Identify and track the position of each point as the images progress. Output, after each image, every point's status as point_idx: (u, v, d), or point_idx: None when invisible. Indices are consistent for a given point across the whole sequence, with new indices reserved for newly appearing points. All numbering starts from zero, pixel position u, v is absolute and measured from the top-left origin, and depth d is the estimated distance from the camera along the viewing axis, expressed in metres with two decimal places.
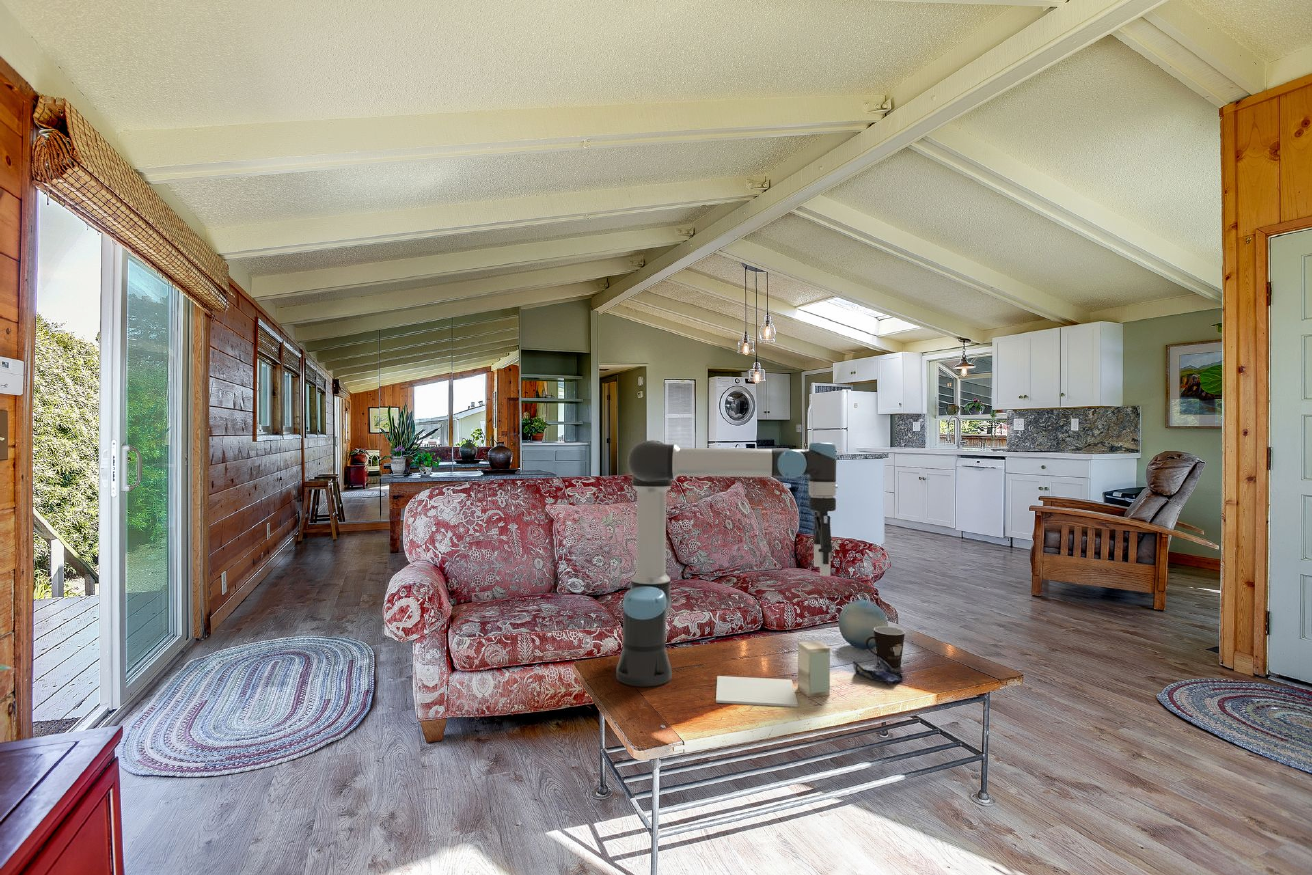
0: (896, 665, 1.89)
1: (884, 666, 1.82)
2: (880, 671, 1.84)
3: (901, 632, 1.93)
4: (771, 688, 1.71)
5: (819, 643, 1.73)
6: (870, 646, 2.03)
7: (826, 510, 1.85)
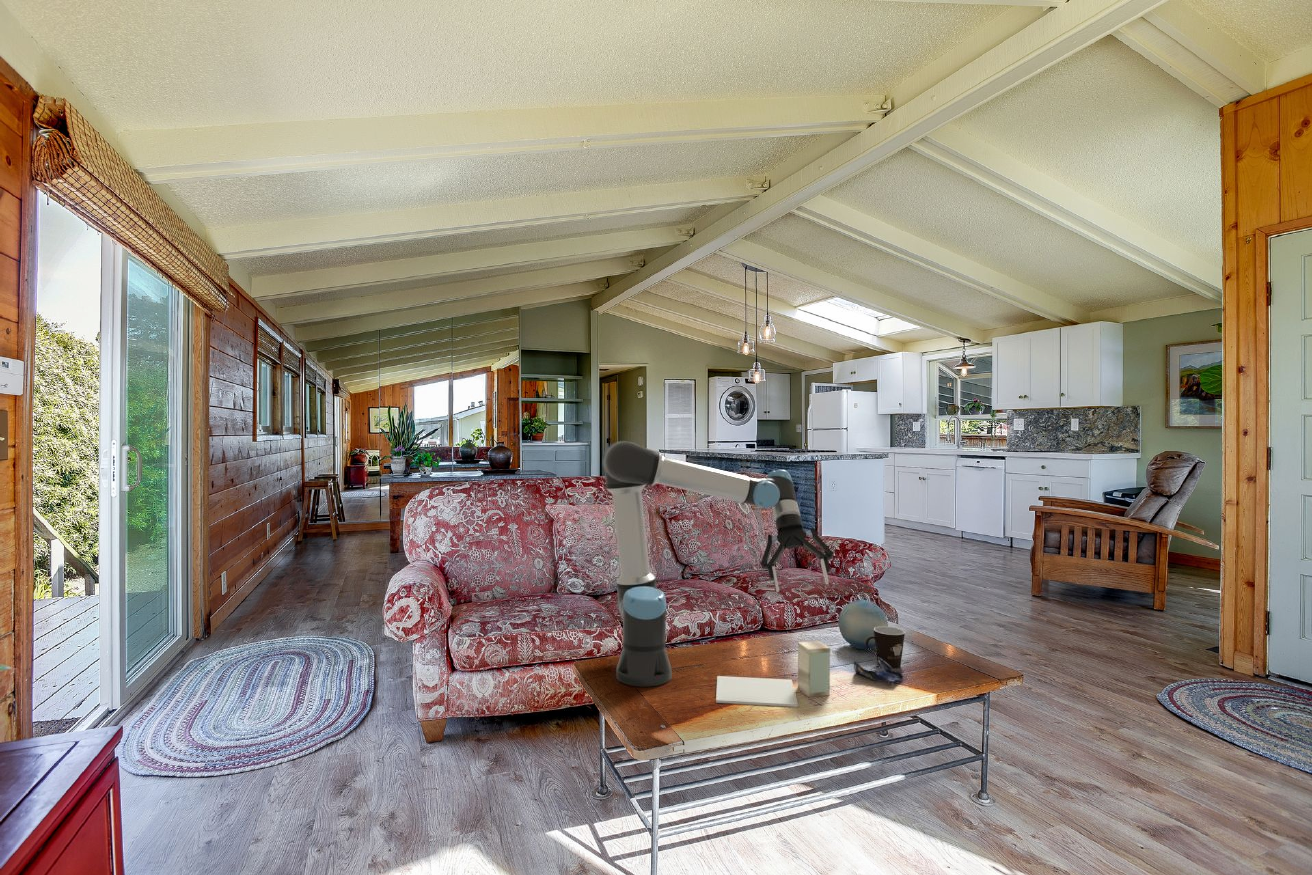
0: (896, 665, 1.89)
1: (884, 666, 1.82)
2: (880, 671, 1.84)
3: (901, 632, 1.93)
4: (771, 688, 1.71)
5: (819, 643, 1.73)
6: (870, 646, 2.03)
7: None
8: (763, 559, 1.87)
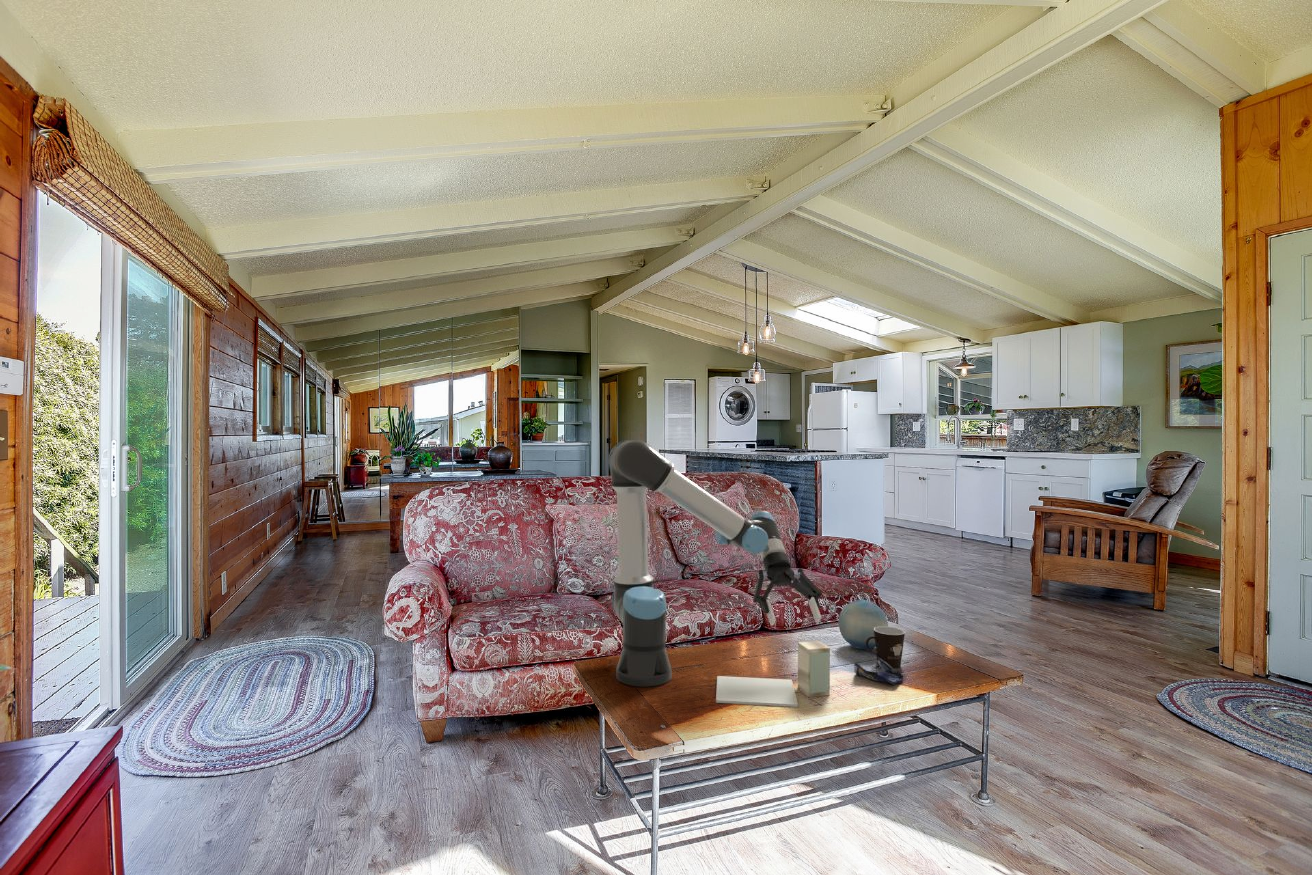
0: (896, 665, 1.89)
1: (884, 667, 1.81)
2: (880, 672, 1.83)
3: (901, 632, 1.93)
4: (771, 688, 1.71)
5: (819, 643, 1.73)
6: (870, 646, 2.03)
7: None
8: (757, 592, 1.85)
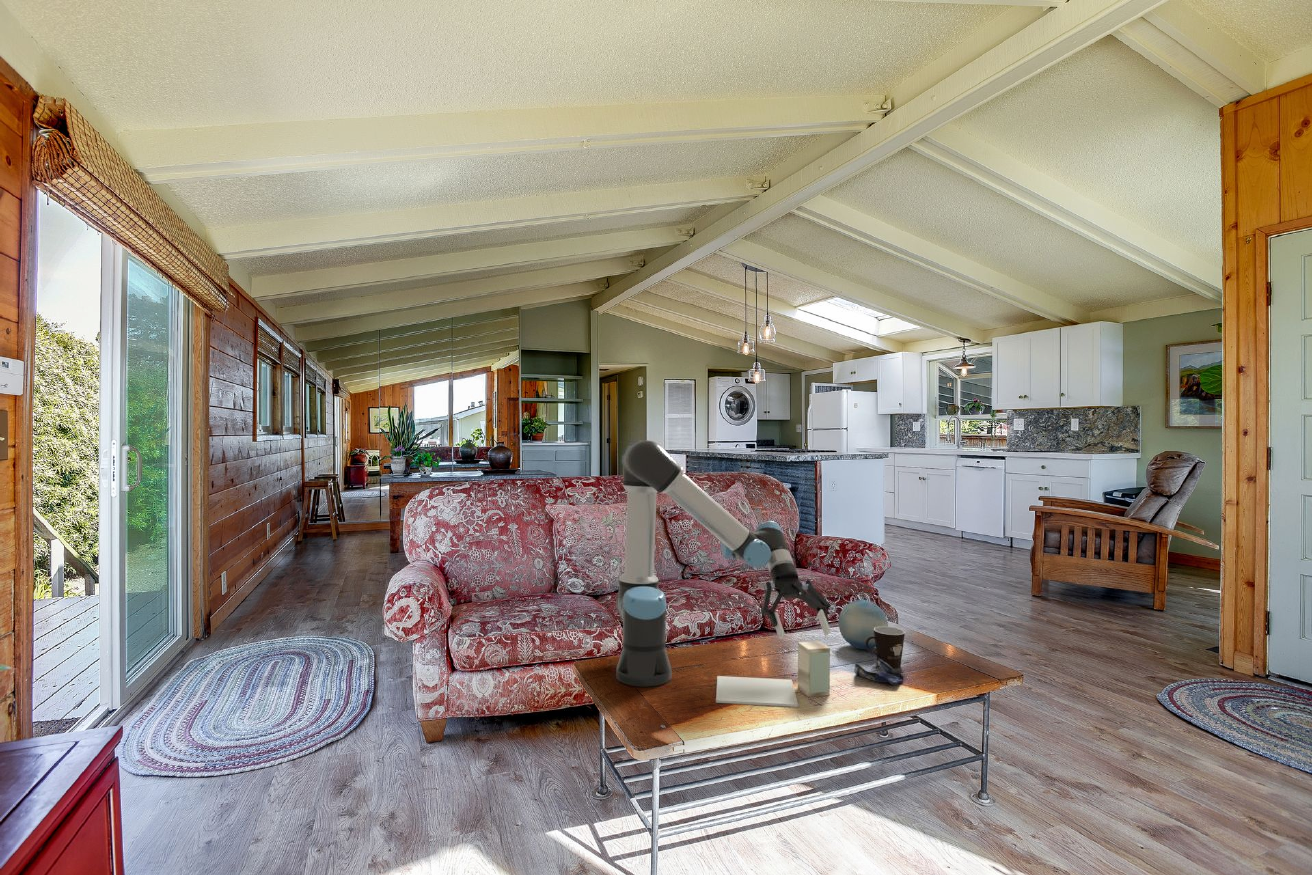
0: (896, 665, 1.89)
1: (885, 667, 1.81)
2: (880, 672, 1.83)
3: (901, 632, 1.93)
4: (771, 688, 1.71)
5: (819, 643, 1.73)
6: (870, 646, 2.03)
7: None
8: (765, 604, 1.82)
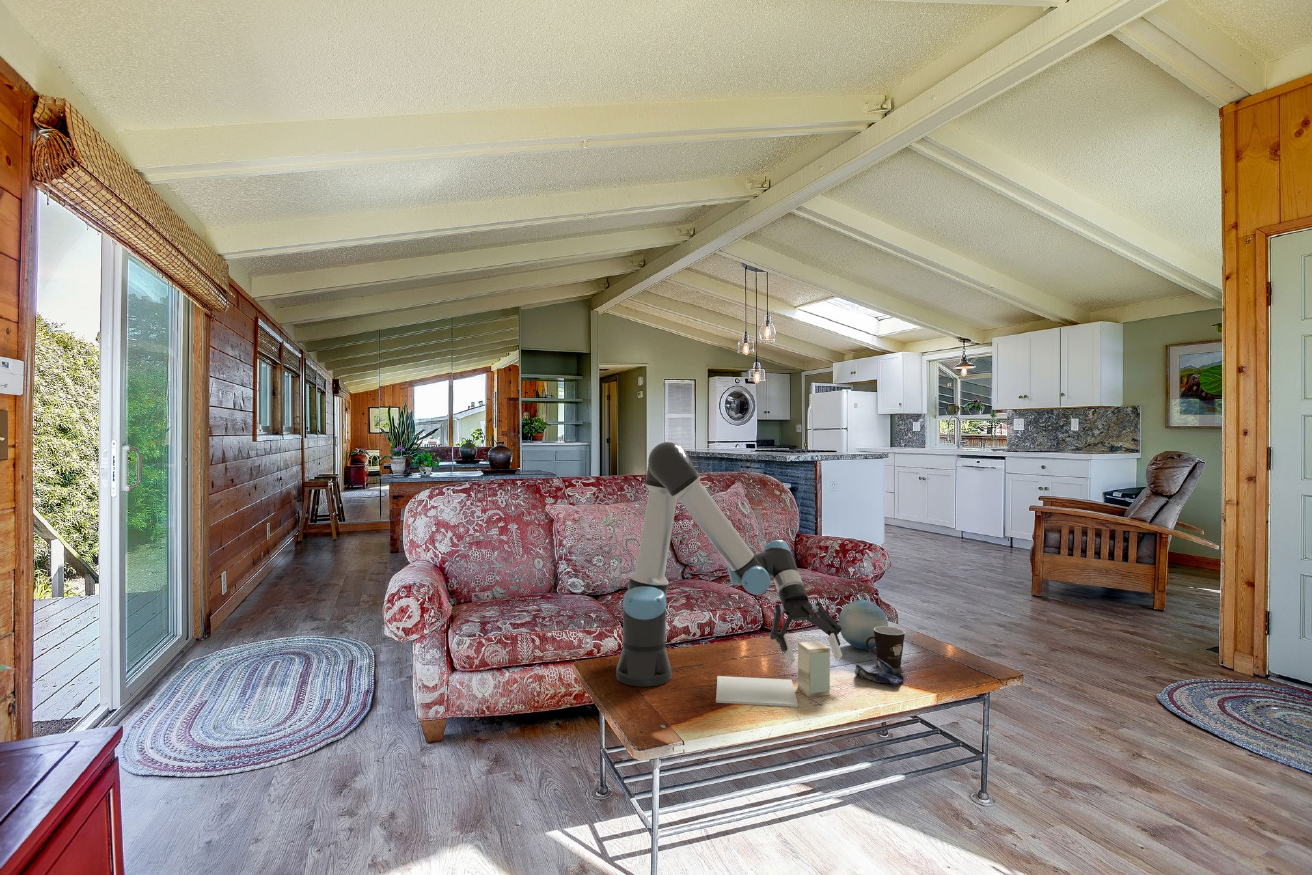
0: (896, 665, 1.89)
1: (885, 668, 1.81)
2: (879, 673, 1.82)
3: (901, 632, 1.93)
4: (771, 688, 1.71)
5: (819, 643, 1.73)
6: (870, 646, 2.03)
7: None
8: (774, 628, 1.76)
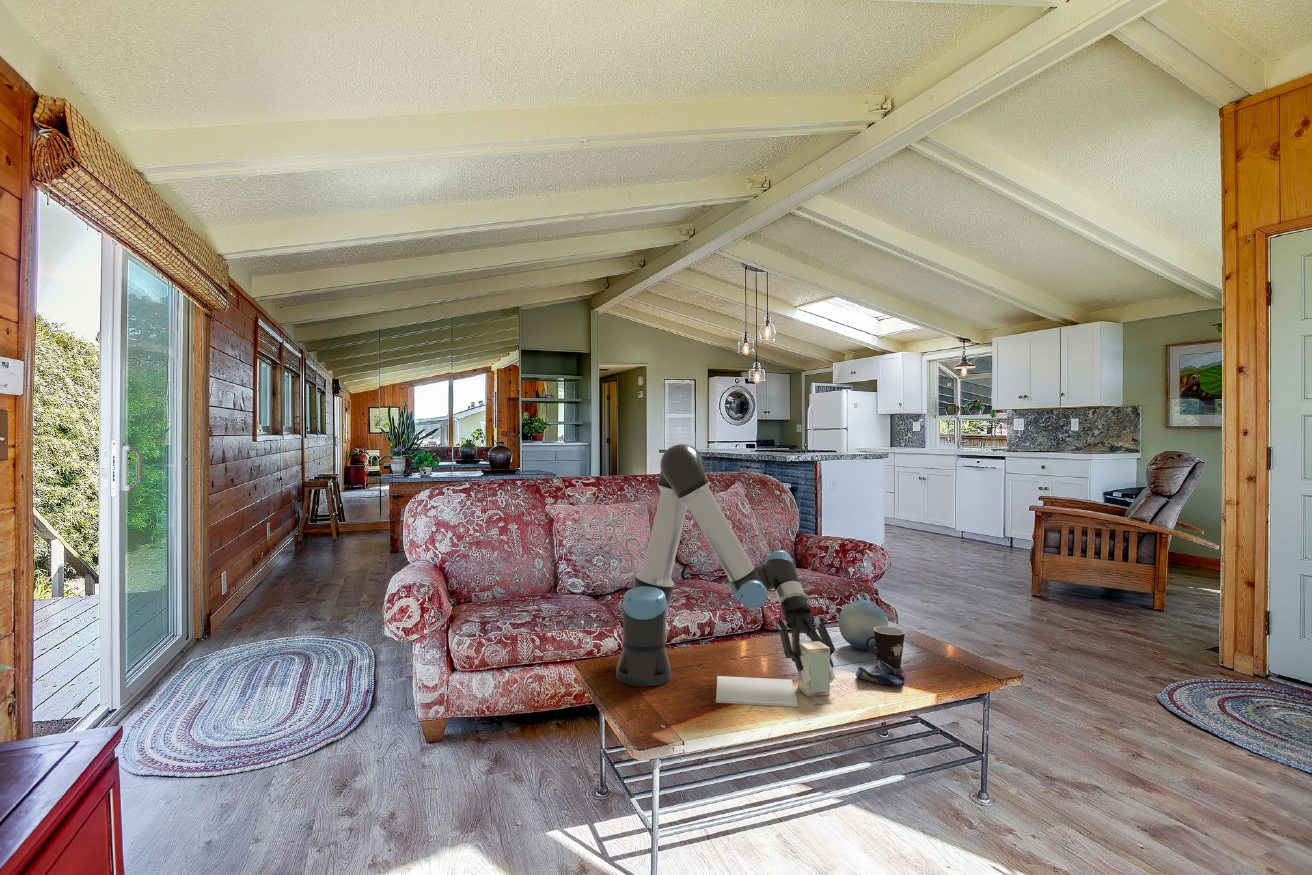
0: (896, 665, 1.89)
1: (885, 669, 1.80)
2: (879, 674, 1.82)
3: (901, 632, 1.93)
4: (771, 688, 1.71)
5: (819, 643, 1.73)
6: (870, 646, 2.03)
7: None
8: (788, 647, 1.72)
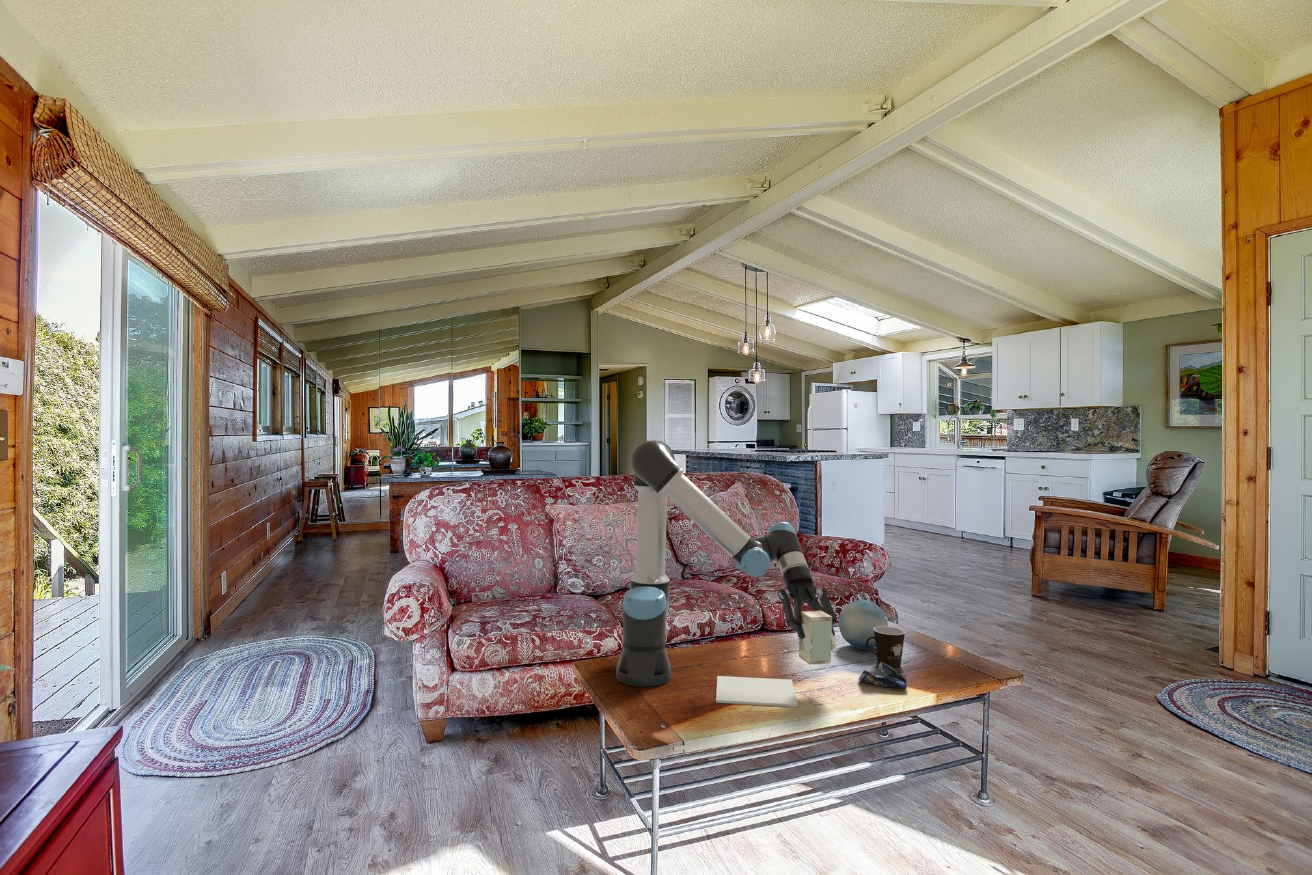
0: (896, 665, 1.89)
1: (887, 671, 1.78)
2: (881, 676, 1.80)
3: (901, 632, 1.93)
4: (771, 688, 1.71)
5: (821, 612, 1.73)
6: (870, 646, 2.03)
7: None
8: (790, 615, 1.72)
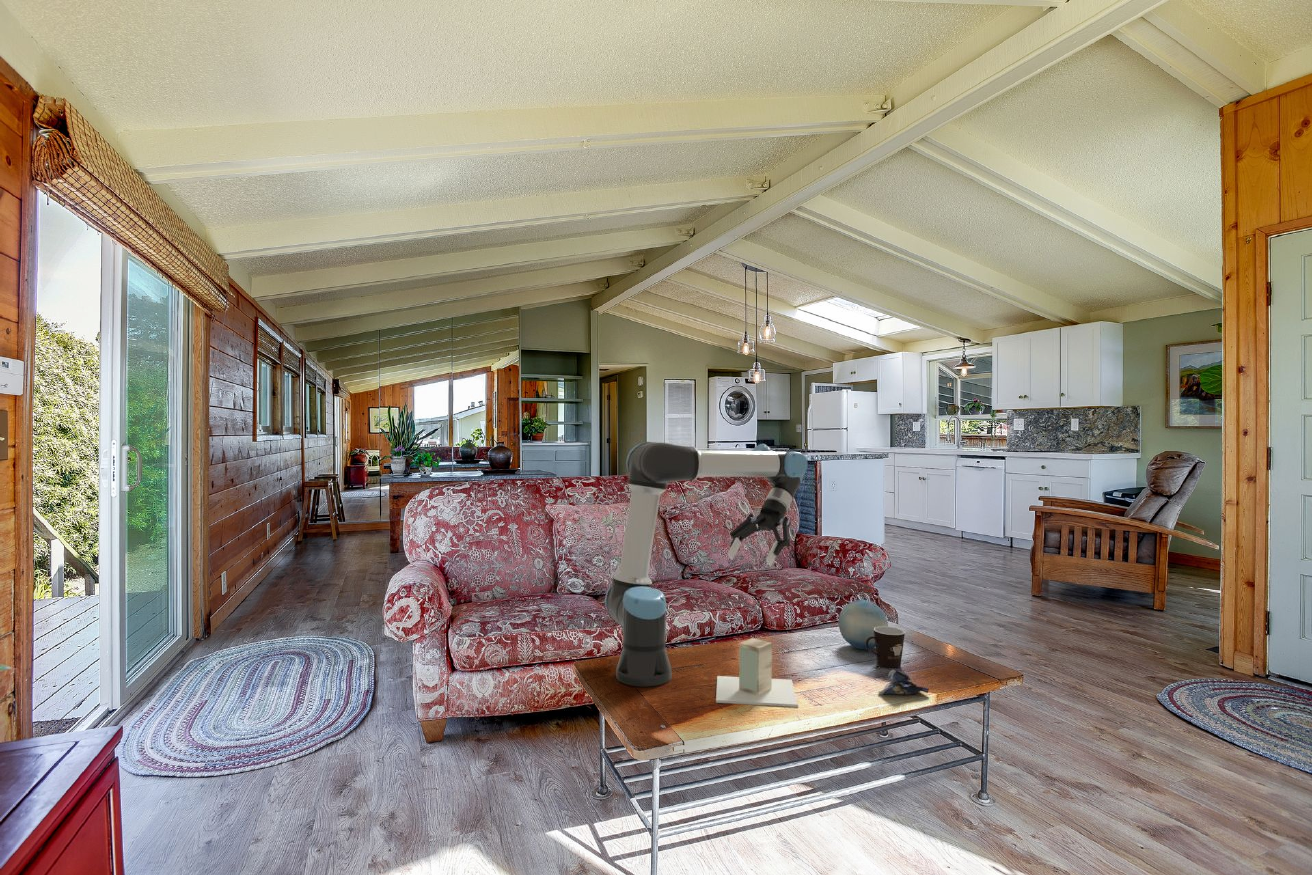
0: (896, 665, 1.89)
1: (899, 677, 1.73)
2: (891, 684, 1.74)
3: (901, 632, 1.93)
4: None
5: (764, 643, 1.70)
6: (870, 646, 2.03)
7: (782, 517, 2.03)
8: (734, 530, 2.05)
